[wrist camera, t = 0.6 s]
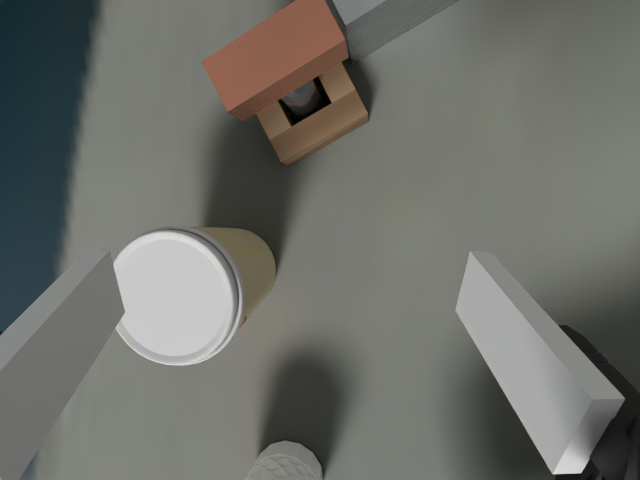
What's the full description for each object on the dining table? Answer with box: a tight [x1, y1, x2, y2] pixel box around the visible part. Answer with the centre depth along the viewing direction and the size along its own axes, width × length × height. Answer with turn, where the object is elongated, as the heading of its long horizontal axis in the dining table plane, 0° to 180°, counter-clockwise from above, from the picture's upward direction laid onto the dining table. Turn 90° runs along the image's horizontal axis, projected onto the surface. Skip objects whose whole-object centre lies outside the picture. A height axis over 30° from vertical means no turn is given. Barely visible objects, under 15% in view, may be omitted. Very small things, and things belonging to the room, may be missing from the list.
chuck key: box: [202, 0, 349, 121], centre depth 28 cm, size 3×8×12 cm, turn 118°
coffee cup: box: [113, 225, 276, 365], centre depth 30 cm, size 9×9×12 cm
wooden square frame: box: [256, 62, 369, 166], centre depth 32 cm, size 8×8×3 cm
